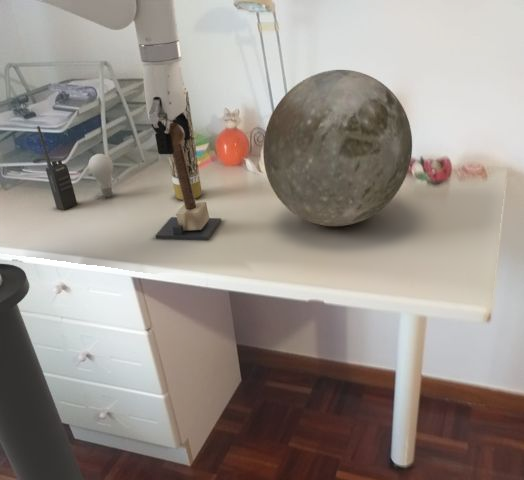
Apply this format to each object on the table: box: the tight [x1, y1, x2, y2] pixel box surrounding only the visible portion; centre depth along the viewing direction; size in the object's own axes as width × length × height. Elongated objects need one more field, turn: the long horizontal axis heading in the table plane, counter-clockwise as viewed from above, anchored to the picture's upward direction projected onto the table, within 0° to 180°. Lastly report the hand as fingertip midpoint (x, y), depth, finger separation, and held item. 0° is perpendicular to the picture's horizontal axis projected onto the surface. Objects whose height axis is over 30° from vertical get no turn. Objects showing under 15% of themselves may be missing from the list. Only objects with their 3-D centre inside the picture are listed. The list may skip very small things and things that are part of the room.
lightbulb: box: [88, 153, 114, 198], centre depth 145 cm, size 6×6×11 cm
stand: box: [155, 216, 222, 241], centre depth 126 cm, size 12×10×2 cm
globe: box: [262, 69, 413, 227], centre depth 116 cm, size 30×30×30 cm
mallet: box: [169, 123, 211, 231], centre depth 120 cm, size 22×6×5 cm
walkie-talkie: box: [36, 125, 78, 211], centre depth 139 cm, size 5×3×20 cm
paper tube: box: [162, 86, 203, 201], centre depth 137 cm, size 7×7×25 cm
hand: (175, 146), depth 116 cm, fingers open, 9 cm apart
